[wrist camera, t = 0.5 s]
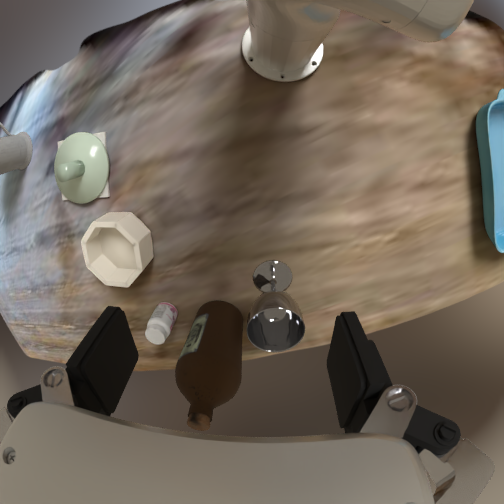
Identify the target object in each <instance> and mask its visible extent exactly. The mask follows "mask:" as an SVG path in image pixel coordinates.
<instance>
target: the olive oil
mask: <svg viewBox="0 0 504 504" xmlns="http://www.w3.org/2000/svg"><path fill="white" fill-rule="evenodd" d="M242 331H243V318H242V315H241V313H240V311H239V310H238V309H237V308H236V307H235V306H233V305H232V304H230V303H227V302H224V301H211V302H208V303H206V304H204V305H203V306H202V307H201V308H200V309H199V311H198V313H197V315H196V318H195V321H194V323H193V325H192V328H191V331H190V333H189V335H188V338H187V340H186V343H185V345H184V348H183V350H182V352H181V355H180V357H179V360H178V362H177V365H176V371H175V373H176V374H175V375H176V383H177V386H178V388H179V389H180V391H181V393H182V394H183V395H184V396H185V398H186V399H187V400H188V401H189V402H190V404H191V406H190V409H189V414H188V417H189V418H188V421H187V424H188V426H189V427H191V428H193V429H195V430H201V431H204V430H208V429H209V427H210V422H211V421H212V414H213V409H214V408H216V407H218V406H220V405H222V404H224V403H226V402H228V401H229V400H230V399H231V398H233V397H234V395H235V394H236V392H237V390H238V388H239V386H240V383H241V368H242Z"/></svg>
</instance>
